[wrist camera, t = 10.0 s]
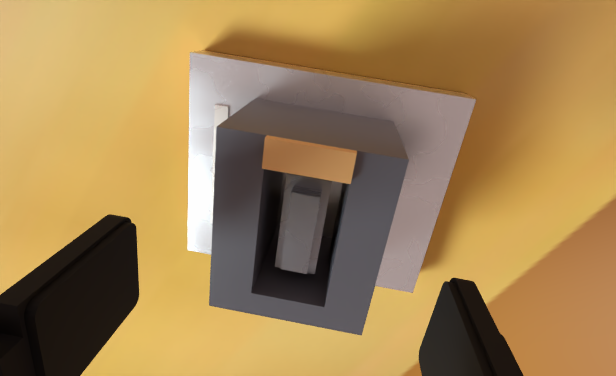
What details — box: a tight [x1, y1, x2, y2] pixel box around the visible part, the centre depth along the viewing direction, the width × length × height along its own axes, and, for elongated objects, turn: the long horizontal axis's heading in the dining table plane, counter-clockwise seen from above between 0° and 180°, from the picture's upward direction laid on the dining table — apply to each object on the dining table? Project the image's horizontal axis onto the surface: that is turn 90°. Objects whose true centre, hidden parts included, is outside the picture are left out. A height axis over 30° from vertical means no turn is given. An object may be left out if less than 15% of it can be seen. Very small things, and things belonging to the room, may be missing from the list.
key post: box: [188, 50, 476, 293], centre depth 16 cm, size 10×12×6 cm
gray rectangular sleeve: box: [209, 98, 409, 335], centre depth 15 cm, size 7×6×5 cm
